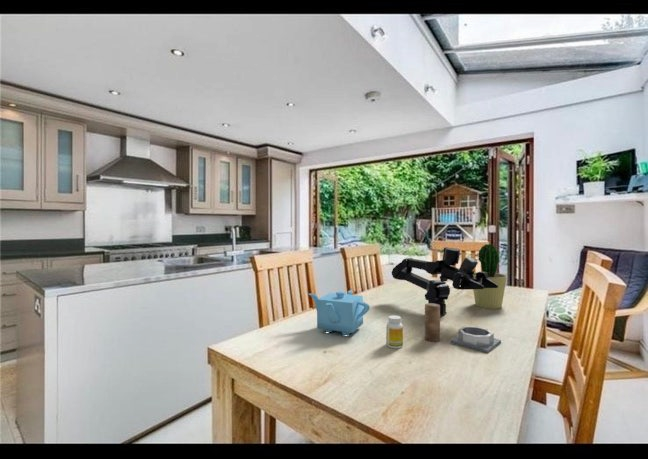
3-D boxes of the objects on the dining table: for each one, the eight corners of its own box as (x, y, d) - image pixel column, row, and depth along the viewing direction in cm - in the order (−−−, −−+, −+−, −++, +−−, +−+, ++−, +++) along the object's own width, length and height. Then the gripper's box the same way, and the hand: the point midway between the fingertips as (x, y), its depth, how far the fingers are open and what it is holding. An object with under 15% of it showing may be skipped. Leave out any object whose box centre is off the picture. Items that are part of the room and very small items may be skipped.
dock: (450, 343, 113) (450, 331, 113) (465, 334, 121) (465, 323, 121) (487, 353, 104) (487, 340, 104) (501, 342, 113) (501, 331, 113)
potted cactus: (507, 303, 163) (508, 242, 162) (505, 311, 150) (506, 244, 149) (473, 300, 171) (473, 241, 170) (468, 306, 158) (468, 243, 157)
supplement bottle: (383, 344, 112) (383, 316, 112) (396, 341, 115) (396, 313, 114) (393, 349, 108) (393, 320, 107) (406, 347, 110) (406, 318, 110)
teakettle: (373, 335, 121) (373, 295, 121) (325, 342, 115) (325, 299, 114) (351, 320, 139) (351, 285, 138) (308, 326, 132) (307, 288, 132)
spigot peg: (422, 339, 117) (422, 305, 116) (429, 335, 120) (429, 302, 120) (435, 343, 113) (435, 307, 113) (442, 339, 117) (442, 305, 116)
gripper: (444, 255, 132) (480, 266, 119) (473, 255, 142) (509, 266, 129) (439, 282, 133) (474, 296, 120) (467, 280, 143) (502, 293, 131)
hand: (490, 287), depth 125 cm, fingers open, 9 cm apart
